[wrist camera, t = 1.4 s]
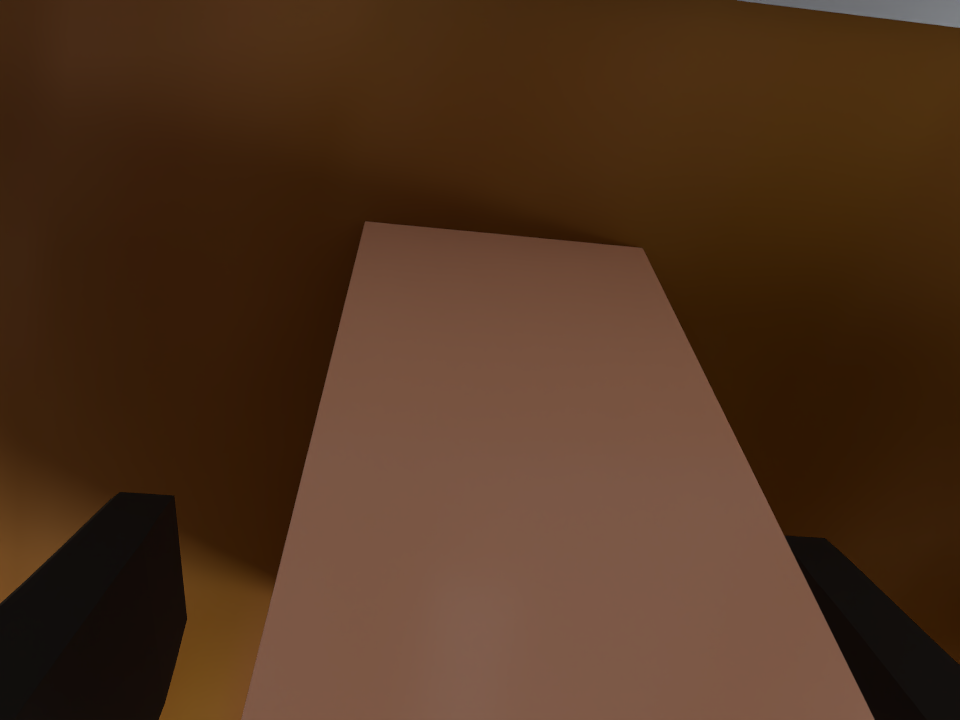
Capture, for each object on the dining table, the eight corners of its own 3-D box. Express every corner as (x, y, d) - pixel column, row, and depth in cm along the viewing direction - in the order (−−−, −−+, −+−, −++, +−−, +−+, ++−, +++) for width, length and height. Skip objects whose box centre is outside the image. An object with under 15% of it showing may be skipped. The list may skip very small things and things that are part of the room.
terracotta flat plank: (642, 246, 10) (899, 769, 4) (554, 623, 14) (628, 1191, 8) (365, 219, 10) (234, 741, 4) (348, 612, 14) (266, 1192, 8)
